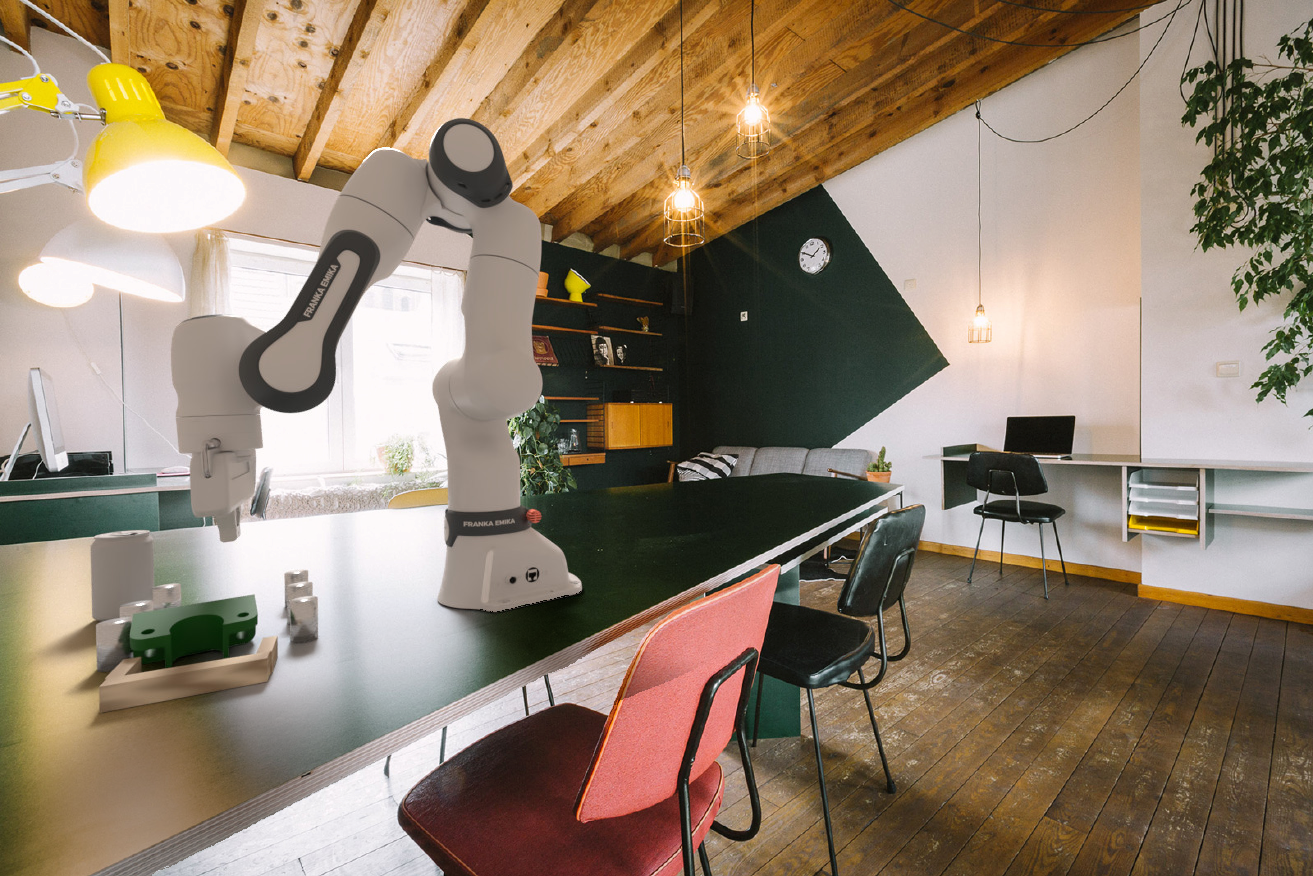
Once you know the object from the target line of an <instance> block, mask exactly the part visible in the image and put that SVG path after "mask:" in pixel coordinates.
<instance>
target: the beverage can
mask: <svg viewBox="0 0 1313 876" xmlns="http://www.w3.org/2000/svg"><path fill="white" fill-rule="evenodd" d="M150 533H151V532H150V530H149V529H148V530H147V529H137V530H136V529H133V530H122V531H112V532H107V533H106V532H105V533H101V534H97V535H95V536H94V537H93V538H94V539H93V540H94V541H93V542H92V544H90V579H91V580H90V583H91V586H90V587H91V618H93V619H94V620H96V621H99V623H100V622H103V621H107V620H111V619H116V618H120V606H121V605H124V604H127V603H131V602H136V601H145V600H150V601H152V588H153V587H155V556H154V555H155V554H154V553H155V551H154V538H153V537H152V536H151V535H150Z"/></svg>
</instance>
